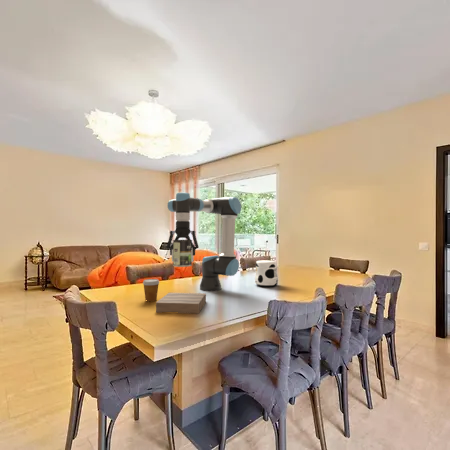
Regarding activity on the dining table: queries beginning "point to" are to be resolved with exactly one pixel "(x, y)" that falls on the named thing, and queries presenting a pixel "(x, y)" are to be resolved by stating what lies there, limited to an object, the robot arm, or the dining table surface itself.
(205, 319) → the dining table surface
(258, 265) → the milk container
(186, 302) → the walnut plinth
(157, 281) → the disposable coffee cup
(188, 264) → the coffee can
